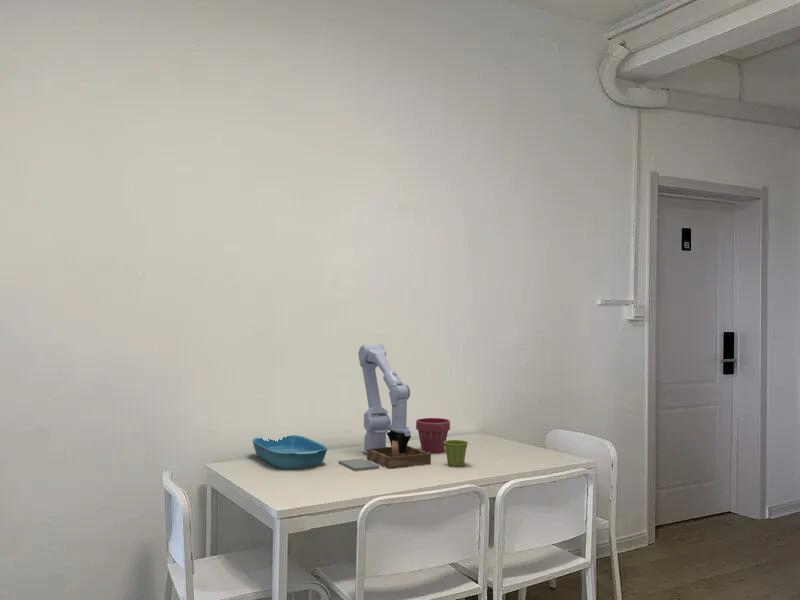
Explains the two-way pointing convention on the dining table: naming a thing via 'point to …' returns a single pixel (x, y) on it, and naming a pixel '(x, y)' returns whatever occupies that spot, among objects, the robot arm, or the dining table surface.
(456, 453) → the plant pot
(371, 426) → the robot arm
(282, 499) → the dining table surface
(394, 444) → the terracotta pot
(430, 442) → the plant pot
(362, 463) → the slate board
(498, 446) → the dining table surface
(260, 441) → the casserole dish
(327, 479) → the dining table surface
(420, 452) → the brown wooden tray
